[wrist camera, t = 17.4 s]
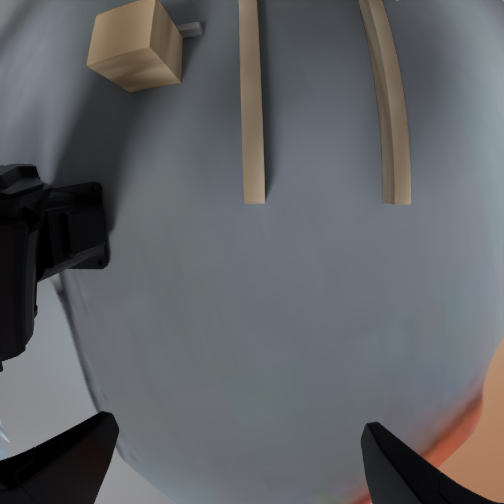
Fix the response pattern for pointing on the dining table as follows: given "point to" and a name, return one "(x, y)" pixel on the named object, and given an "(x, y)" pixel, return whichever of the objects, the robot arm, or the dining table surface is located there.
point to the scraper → (139, 46)
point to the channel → (387, 94)
